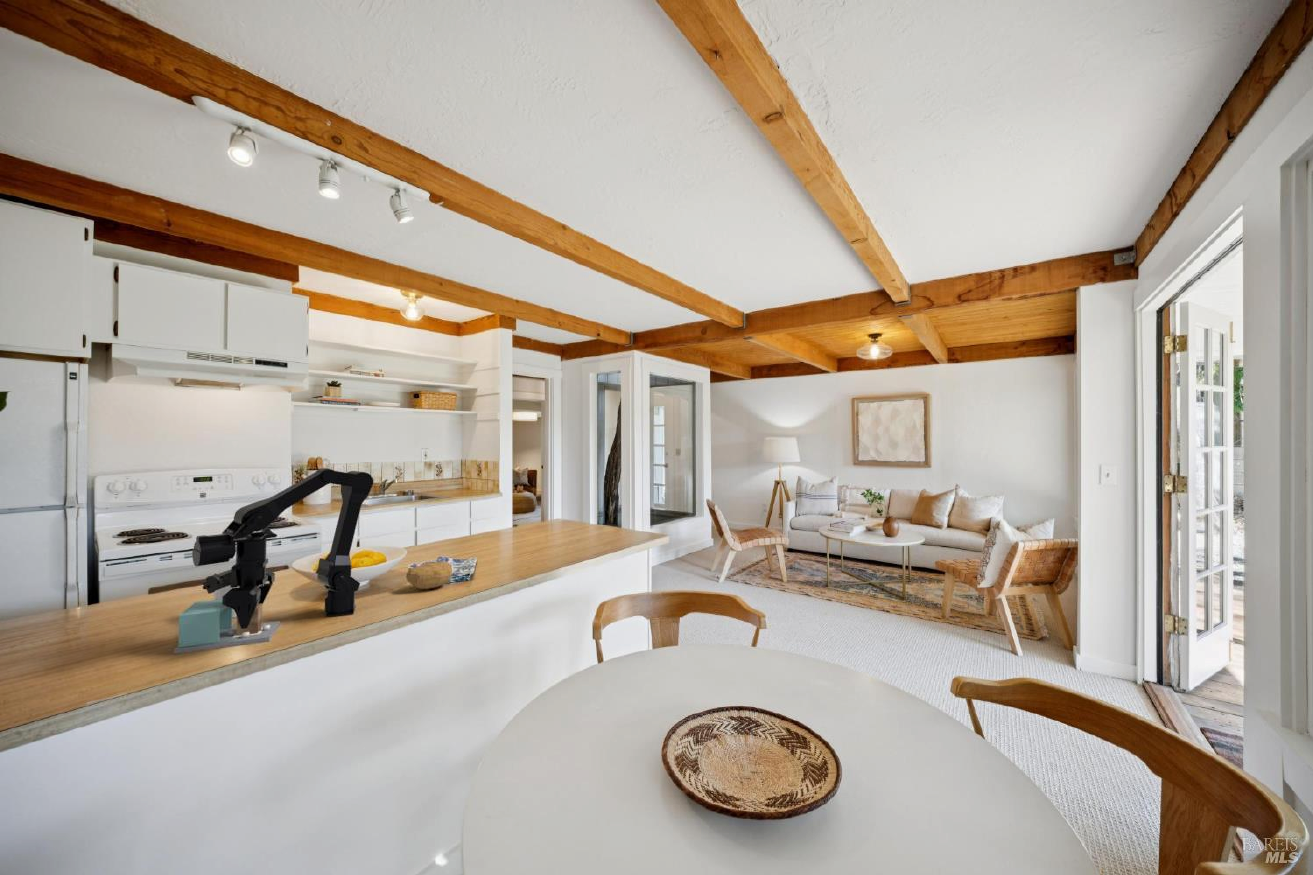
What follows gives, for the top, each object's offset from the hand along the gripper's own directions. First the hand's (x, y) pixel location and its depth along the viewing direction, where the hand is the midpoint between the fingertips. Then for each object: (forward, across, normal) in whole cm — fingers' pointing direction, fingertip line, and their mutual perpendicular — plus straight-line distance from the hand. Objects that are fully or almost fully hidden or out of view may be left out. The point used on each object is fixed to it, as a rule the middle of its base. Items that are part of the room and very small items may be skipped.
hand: (249, 621), depth 120 cm
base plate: (+4, 0, -4) cm, 5 cm away
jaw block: (+2, 0, 0) cm, 2 cm away
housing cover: (+2, 0, -8) cm, 8 cm away
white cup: (+4, -19, -8) cm, 21 cm away
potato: (+4, -24, +41) cm, 48 cm away
